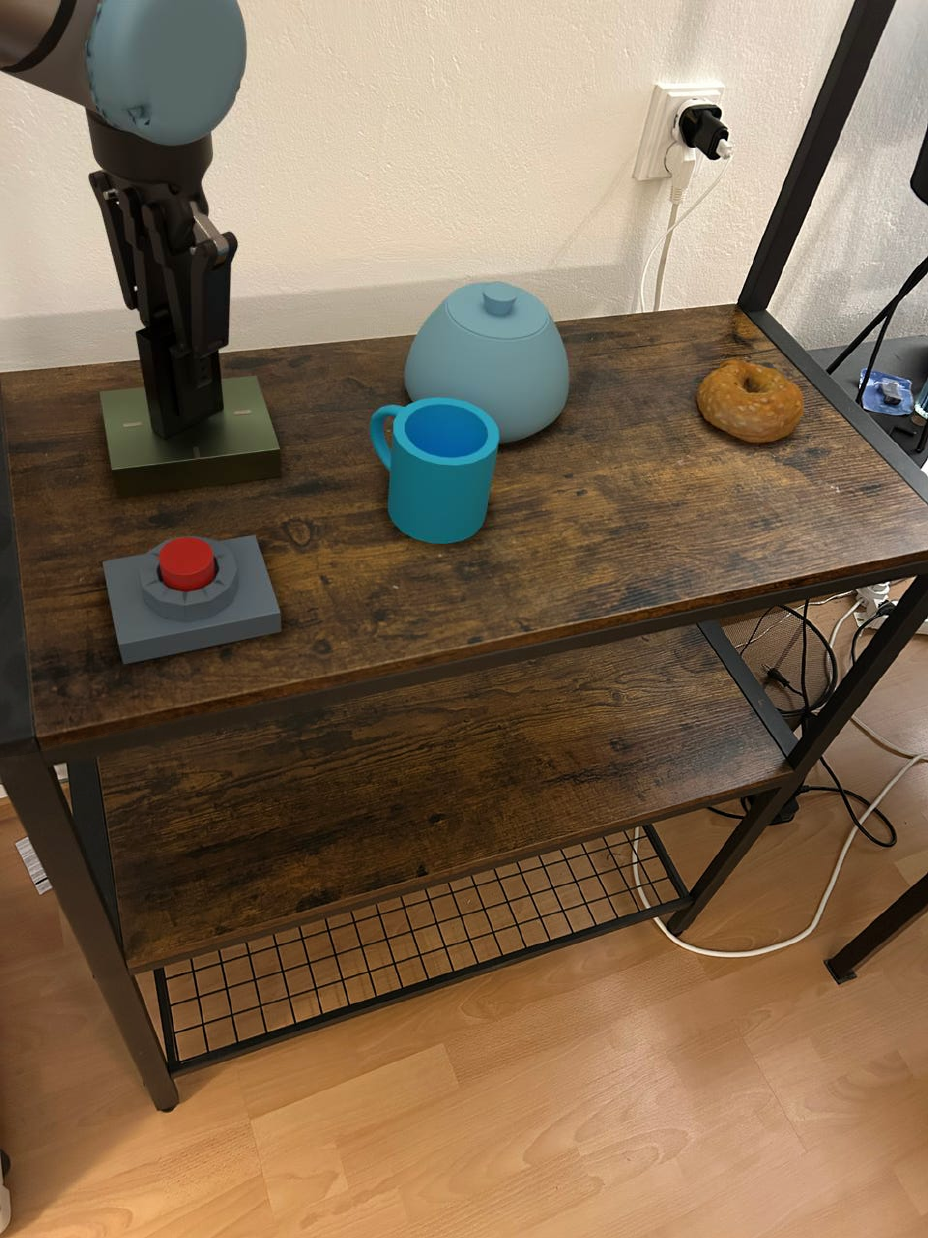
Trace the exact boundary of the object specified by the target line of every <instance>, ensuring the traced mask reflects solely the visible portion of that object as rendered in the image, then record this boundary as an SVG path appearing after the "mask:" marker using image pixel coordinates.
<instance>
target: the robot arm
mask: <svg viewBox="0 0 928 1238" xmlns="http://www.w3.org/2000/svg"><path fill="white" fill-rule="evenodd" d="M247 57H248V41H247V31H246V25H245V20H244V16H243V13H242V10H241V7H240V5H239V2H238V0H0V72H1V73H4V74H6V75H8V76H11V77H13V78H15V79H17V80H20V81H23V82H24V83H27V84H30V85H33V86H35V87H37V88H40V89H42V90H44V91H46V92H49V93H52V94H54V95H57V96H59V97H61V98H63V99H67V100H69V101H71V102H73V103H75V104H77V105H79V106H81V107H84V109H85V116H86V121H87V126H88V127H87V128H88V133H89V139H90V144H91V150H92V155H93V158H94V160H95V162H96V164H97V165H98V166H99V167H100V168H101V169H99V170H96V171H93V172H89V174H88V177H87V178H88V182H89V185H90V188H91V190H92V192H93V194H94V197H95V199H96V202H97V204H98V206H99V209H100V212H101V213H100V214H101V216H102V221H103V224H104V228H105V232H106V236H107V240H108V244H109V248H110V251H111V255H112V259H113V263H114V268H115V272H116V275H117V280H118V283H119V287H120V290H121V295H122V299H123V302H124V304H125V306H126V308H127V309H128V310H130V311H134V310H136V311H137V312H138V313H139V320H140V322H141V324H142V325H143V326H144V328H145V327H148V326H150V325H152V324H155V323H157V322H159V321H162V320H164V319H166V318H169V317H171V316H172V320H173V325H174V330H175V335H176V341H177V344H176V345H173V346H171V347H169V350H170V352H171V356H172V364H173V371H174V378H175V385H176V393H177V400H178V407H179V415H180V418H181V419H182V420H184V421H185V422H187V421H189V420H191V419H193V418H195V417H197V416H199V415H201V414H203V413H205V412H207V411H209V410H211V409H213V403H212V394H211V384H210V382H211V380H212V373H211V363H210V354H211V353H213V352H215V351H217V350H219V351H220V350H221V349H224V348H225V347H228V346H229V344H230V343H229V342H230V317H231V316H230V315H231V287H232V283H231V282H232V263H233V260H234V258H235V256H236V253H237V250H238V247H239V243H238V238H237V236H236V235H235V234H234V233H233V232H232V231H226V232H223V233H220V232H219V230H218V229H217V228H216V226H215V225H214V224H213V222H212V221H211V219H210V218H209V215H210V207H209V203H208V200H207V198H206V197H207V196H206V194H205V191H204V188H203V179H204V176H205V175H206V173H207V171H208V169H209V168H210V166H211V164H212V163H213V160H214V148H213V137H212V132H213V131H214V130H215V129H216V128H217V127H218V126H219V125H220V124H221V123H222V122H223V121H224V119H225V118H226V117H227V115H228V114H229V112H230V111H231V109H232V108H233V106H234V104H235V101H236V97H237V94H238V92H239V90H240V89H241V83H242V80H243V77H244V75H245V72H246V66H247ZM135 287H136V288H135Z"/></svg>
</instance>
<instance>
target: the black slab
mask: <svg viewBox="0 0 928 1238" xmlns="http://www.w3.org/2000/svg"><path fill="white" fill-rule="evenodd" d="M134 333H135V337H136V345H137V350H138V351H137V352H138V357H139V362H140V369H141V375H142V381H143V387H145V393H146V399H147V405H148V411H149V417H150V423H151V429H152V430H154V431H155V432H156V433H158V434H159V435H160V436H161V437H163V438H164V439H167V438H169V437H171V436H173V435H175V434H177V433H179V432H181V431H183V430H185V429H187V428H188V427H190V426H192V425H194V424H196V423H198V422H200V421H202V420H204V419H206V418H208V417H210V416H212V415H214V414H216V413H218V412H220V411H222V410H224V402H223V391H222V380H221V379H222V372H221V371H222V370H221V359H220V349H219V350H217V351H215V352H213V353H211V354H210V363H211V373H212V380H211V382H210V384H211V394H212V403H213V409H211V410H209V411H207V412H205V413H203V414H201V415H199V416H197V417H195V418H193V419H191V420H189V421H187V422H185V421H184V420H182V419H181V418H180V415H179V407H178V400H177V393H176V385H175V378H174V371H173V364H172V356H171V352H170V350H169V347H171V346H173V345H176V344H177V341H176V335H175V330H174V325H173V320H172V316H171V317H169V318H166V319H164V320H162V321H159V322H157V323H155V324H152V325H150V326H148V327H145V326H144V327H143V328H141V329H138V330H136V331H135V332H134Z"/></svg>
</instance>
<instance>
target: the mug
mask: <svg viewBox="0 0 928 1238" xmlns="http://www.w3.org/2000/svg"><path fill="white" fill-rule="evenodd" d="M388 417H395V418H394V420H393V426H392V439H391V440H392V441H391V449H390V447H389V445H388V442H387V440H386V437H385V433H384V423H385V420H386V419H387V418H388ZM369 436H370V440H371V442H372V446H373V448H374V451H375V453H376V455H377V456H378V458H379V460H380V461H381V464H382V465H383V466H384V467H385V469H386V470H387V471H388V472H389V481H388V482H389V483H388V496H387V513H388V515H389V517H390V520H391V521H392V522H391V523H393V524H394V525H395V526H396V528H397V529H399V531H401V533H403V534H405V535H407V536H409V537H411V538H412V539H415V540H418V541H422V542H424V543H429V544H443V545H448V544H452V543H458V542H462V541H464V540H466V539H468V538H470V537H473V536H474V535H475V534H477V532H478V531H479V530H480V529H481V528H482V527H483V525H484V522H485V520H486V517H487V511H488V506H489V499H490V494H491V488H492V483H493V479H494V472H495V466H496V460H497V455H498V449H499V444H498V443H499V431H498V427H497V425H496V424H495V422H494V420H493V419H492V417H490V416H489V415H488V414H487V413H486V412H485V411H483V410H482V409H481V408H479V407H477V406H475V405H473V404H471V403H469V402H465V401H461V400H457V399H453V398H439V397H436V398H428V399H421V400H419V401H416V402H414V403H413V402H412V403H408V404H407V405H406V406H402V405H398V404H388V405H384V406H381V407H379V408H378V409H377V410H376V411H375V412H374V413H373V414H372V415H371V419H370V423H369Z"/></svg>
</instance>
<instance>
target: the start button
mask: <svg viewBox="0 0 928 1238" xmlns="http://www.w3.org/2000/svg"><path fill="white" fill-rule="evenodd" d="M182 537H183V538H179V537H177V538H178V539H175V540H172V541H170V542H169V543H167V544H166V545H165V546H164V547H163V548H162V549H161V551H160V553H159V563H160V568H161V574H162V578H163V581H164V582H165V583H166V584H167V585H168V586H169V587H170V588H172V589H175V590H178V591H184V592H188V591H194V590H199V589H201V588H203V587H205V586H207V585H208V584H209V583H210V582H211V581H212V579H213V577H214V575H215V566H214V558H213V551H212V549H211V547H210V546H209V545H208V544H207V543H206V542H204V541H203V540H200V539H198V538H192V537H185V536H182Z"/></svg>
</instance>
